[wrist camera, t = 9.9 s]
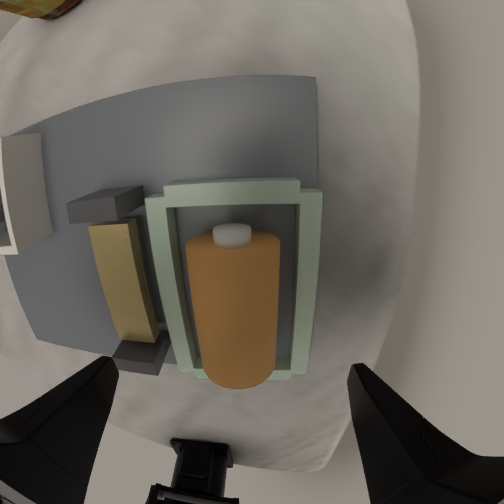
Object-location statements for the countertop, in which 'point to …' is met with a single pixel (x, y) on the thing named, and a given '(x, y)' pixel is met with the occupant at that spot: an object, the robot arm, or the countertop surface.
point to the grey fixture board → (164, 208)
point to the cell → (235, 302)
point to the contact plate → (124, 278)
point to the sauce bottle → (37, 7)
